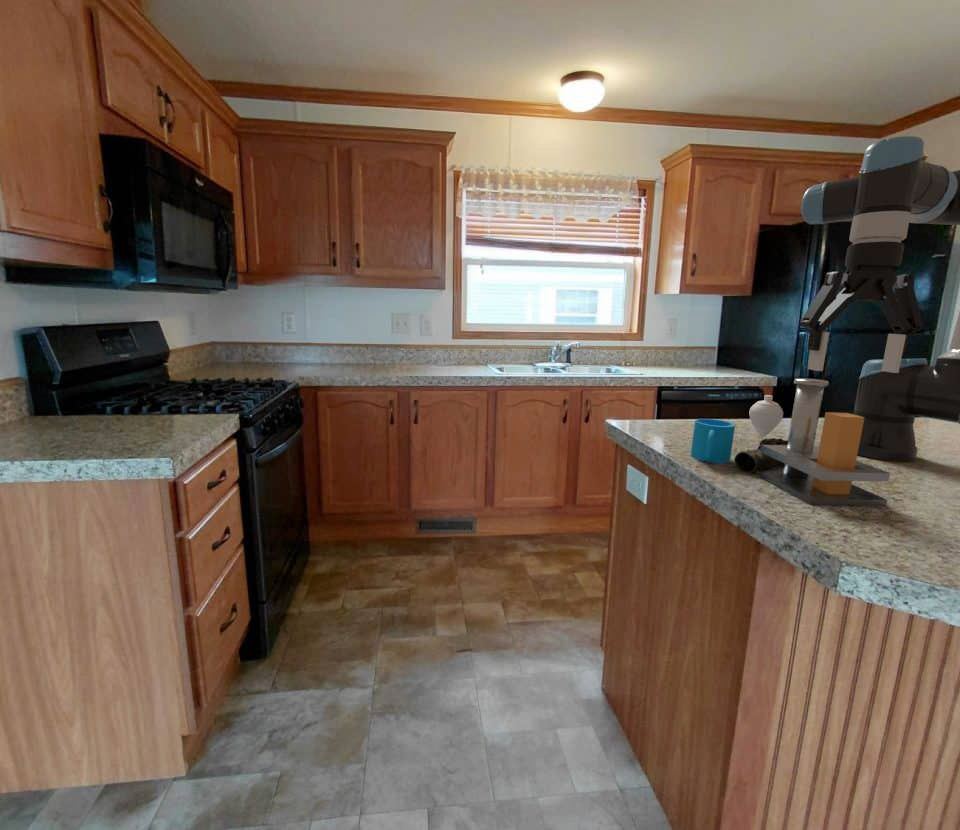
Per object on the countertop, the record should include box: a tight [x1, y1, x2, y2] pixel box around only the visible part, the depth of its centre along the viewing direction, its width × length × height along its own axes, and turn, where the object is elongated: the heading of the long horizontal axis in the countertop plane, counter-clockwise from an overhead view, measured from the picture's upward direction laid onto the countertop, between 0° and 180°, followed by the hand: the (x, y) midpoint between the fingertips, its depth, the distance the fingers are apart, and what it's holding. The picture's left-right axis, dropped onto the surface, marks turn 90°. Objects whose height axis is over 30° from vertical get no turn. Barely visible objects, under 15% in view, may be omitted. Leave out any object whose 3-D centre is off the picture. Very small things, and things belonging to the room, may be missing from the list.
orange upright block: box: [812, 411, 865, 494], centre depth 91 cm, size 4×4×14 cm
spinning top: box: [748, 394, 784, 441], centre depth 131 cm, size 8×8×12 cm
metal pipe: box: [734, 437, 788, 474], centre depth 109 cm, size 18×7×6 cm, turn 119°
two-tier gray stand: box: [754, 377, 891, 506], centre depth 94 cm, size 14×18×20 cm
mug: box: [690, 418, 736, 464], centre depth 112 cm, size 12×8×8 cm
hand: (852, 371), depth 88 cm, fingers open, 13 cm apart
